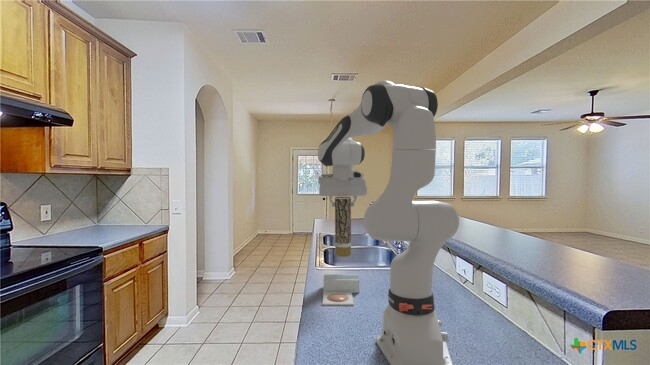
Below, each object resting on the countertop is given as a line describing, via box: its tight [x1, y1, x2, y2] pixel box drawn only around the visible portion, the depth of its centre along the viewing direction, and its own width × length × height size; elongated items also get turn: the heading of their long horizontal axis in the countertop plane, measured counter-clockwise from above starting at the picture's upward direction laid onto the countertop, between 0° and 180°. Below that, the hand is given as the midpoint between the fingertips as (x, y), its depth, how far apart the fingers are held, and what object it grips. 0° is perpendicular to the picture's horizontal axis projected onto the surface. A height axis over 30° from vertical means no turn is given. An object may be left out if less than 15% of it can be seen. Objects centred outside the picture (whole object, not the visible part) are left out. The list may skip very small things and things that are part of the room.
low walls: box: [323, 274, 360, 294], centre depth 128 cm, size 7×14×5 cm, turn 88°
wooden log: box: [334, 196, 352, 258], centre depth 136 cm, size 7×7×25 cm
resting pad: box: [322, 291, 355, 307], centre depth 118 cm, size 11×11×1 cm
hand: (342, 206), depth 135 cm, fingers closed on wooden log, 7 cm apart
